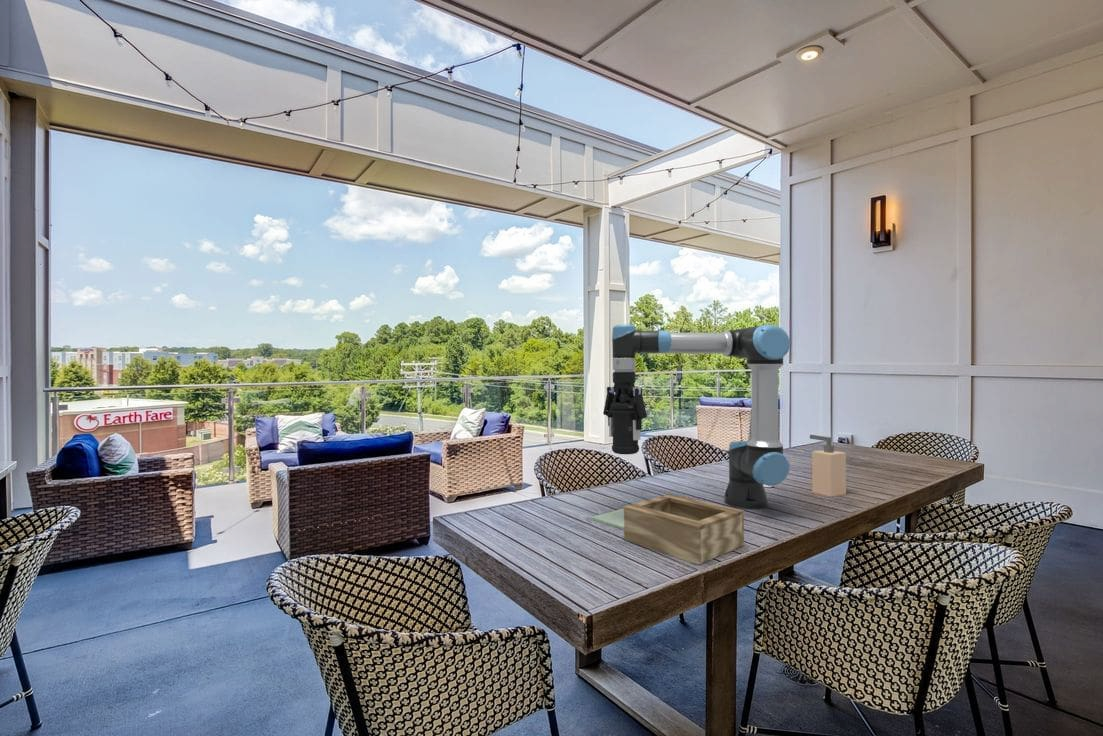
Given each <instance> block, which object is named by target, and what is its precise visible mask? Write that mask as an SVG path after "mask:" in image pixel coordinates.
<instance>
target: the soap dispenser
mask: <svg viewBox="0 0 1103 736" xmlns="http://www.w3.org/2000/svg"><path fill="white" fill-rule="evenodd" d="M810 439H811V440H817V441H823V442H824V441H825V442H826V444H824V445H823V449H822V450H813V451H811V454H812V455H811V462H812V466H811V468H812V469H811V472H812V473H811V475H812V476H811V477H812V479H811V482H812V483H811V484H812V485H811V486H812V487H811V491H812V493H815V494H819V495H823V496H827V497H830V498H831V497H837V496H838V497H839V496H844V495H847V453H846V452H843V451H837V450H836V451H835V446H834V445H832V437H831V436H823V435H816V434H809V440H810Z"/></svg>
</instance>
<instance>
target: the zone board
mask: <svg viewBox="0 0 1103 736" xmlns="http://www.w3.org/2000/svg"><path fill="white" fill-rule="evenodd" d="M591 521H595V522H599V523H601V524H605V525H607V524H608V525H607V526H610V527H614V528H617V529H620V530H623V531H624V507H623V508H620V509H619V508H618V509H616V510H613V511H609V512H605V513H601V514H598V515H594V516H592V517H591Z"/></svg>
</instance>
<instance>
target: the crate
mask: <svg viewBox="0 0 1103 736" xmlns="http://www.w3.org/2000/svg"><path fill="white" fill-rule="evenodd" d="M623 508H624V530H623V535H624V536H623V540H624V541H627V542H629V543H632V544H635V545H638V546H641V547H644V548H646V549H650V550H653V551H657V552H658V553H659V552H660V553H663V554H665V555H668V556H670V557H675V558H677V559H680V560H683V561H686V562H689V563H692V564H695V563H696V564H695V565H698V564H700V565H702V564H704V563H703V562H705V563H707V562H709V561H711V560H713V558H714V559H716V558H718V557H720V556H719V555H721V556H722V554H723V555H725V554H727V553H730V552H732V551H735V550H736V549H738V548H742V547H743V546H745V524H744V523H745V521H744V520H745V518H744V517H745V511H744V510H743V509H739V508H736V507H730V506H725V505H721V504H716V503H712V502H708V501H703V500H700V499H699V500H698V499H694V498H690V497H686V496H682V495H681V496H680V495H676V494H672V493H668V494H664V495H660V496H656V497H653V498H650V499H646V500H642V501H638V502H635V503H632V504H628V505H625V506H624V505H623ZM724 553H725V554H724ZM717 556H718V557H717ZM715 557H716V558H715ZM708 560H709V561H708ZM706 561H707V562H706ZM701 563H702V564H701Z"/></svg>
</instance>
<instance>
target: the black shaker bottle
mask: <svg viewBox="0 0 1103 736" xmlns="http://www.w3.org/2000/svg"><path fill="white" fill-rule="evenodd" d="M623 394H625V393H622V392H620V393H619V396H621V399H619V400H620V402H616V403H613V404H611V408H613V409H611V412H612V413H613V425H612V433H613V437H612V445H611V449H612V450H611V451H612V452H613V453H614V454H617V455H635V454H637V453H638V452H639V451H640V445H639V440H633V420H634V419H635V418H634V415H633V413H634V410H632V409H636V408H637V405H636V404H635V403H632V404H631V403H630V404H628V402H627V401H626V399H625V397H624V395H623Z"/></svg>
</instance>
